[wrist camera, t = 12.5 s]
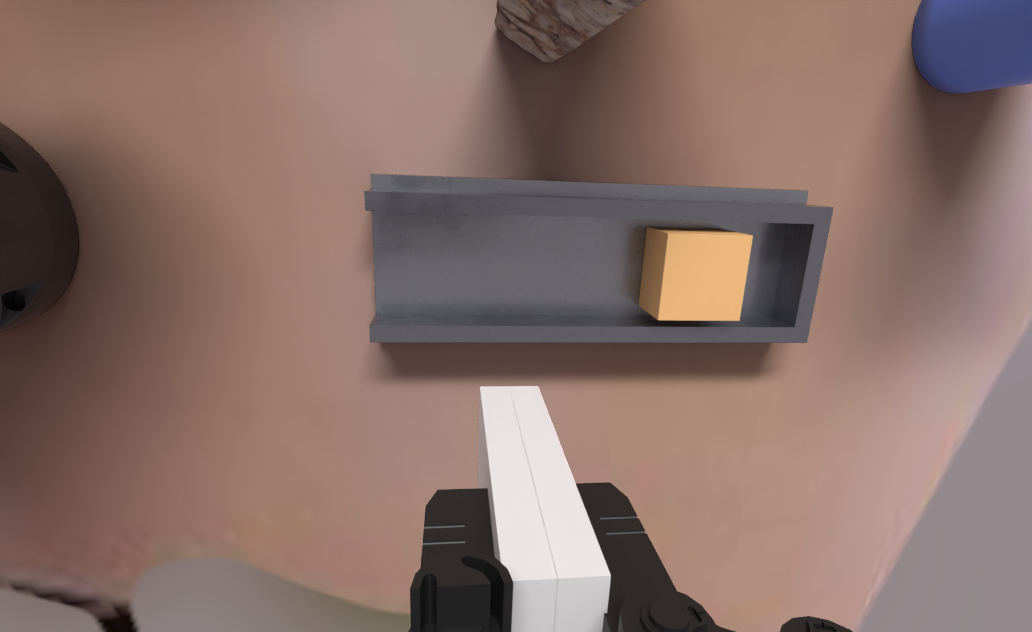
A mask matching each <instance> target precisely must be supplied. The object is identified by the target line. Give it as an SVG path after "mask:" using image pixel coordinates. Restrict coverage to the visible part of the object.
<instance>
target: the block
mask: <svg viewBox="0 0 1032 632" xmlns="http://www.w3.org/2000/svg"><path fill="white" fill-rule="evenodd" d="M752 239H753V236H752V235H748V234H744V233H739V232H735V231H730V230H726V229H705V228H670V227H647V231H646V240H645V250H644V259H643V269H642V278H641V288H640V297H639V306H640V307H641V308H642V309H644V310H645V311H646V312H648V313H649V314H650V315H652V316H653V317H654V318H656V319H657V320H693V321H740V314H741V308H742V302H743V296H744V289H745V283H746V277H747V271H748V264H749V258H750V252H751V246H752Z"/></svg>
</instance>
